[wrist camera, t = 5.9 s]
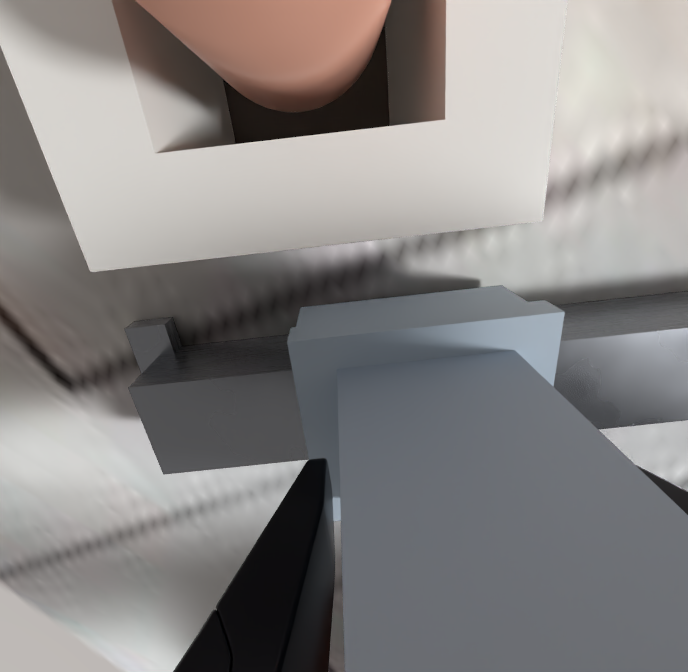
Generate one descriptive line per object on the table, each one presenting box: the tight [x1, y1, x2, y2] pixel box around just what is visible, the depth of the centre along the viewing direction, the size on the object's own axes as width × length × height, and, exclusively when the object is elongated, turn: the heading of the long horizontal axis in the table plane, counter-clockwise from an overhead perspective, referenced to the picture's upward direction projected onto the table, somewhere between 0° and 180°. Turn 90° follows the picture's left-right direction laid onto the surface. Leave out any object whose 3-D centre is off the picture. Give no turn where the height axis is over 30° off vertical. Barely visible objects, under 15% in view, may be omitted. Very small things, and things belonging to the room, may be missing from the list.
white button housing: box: [0, 0, 568, 272], centre depth 6 cm, size 7×7×5 cm
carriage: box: [287, 285, 688, 672], centre depth 8 cm, size 6×6×9 cm
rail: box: [125, 291, 688, 474], centre depth 11 cm, size 5×26×2 cm, turn 96°
